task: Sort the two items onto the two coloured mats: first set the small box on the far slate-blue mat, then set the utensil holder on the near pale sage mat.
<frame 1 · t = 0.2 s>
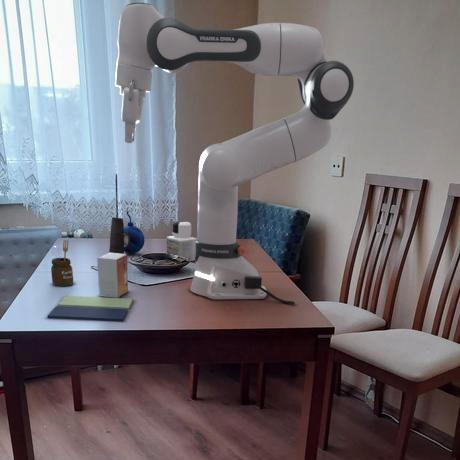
hand: (129, 142, 144), 38 cm above the table, tool pointing down, fingers open, 8 cm apart
container: (181, 260, 198), on the table
sage mat: (96, 303, 145), on the table
utensil holder: (63, 284, 161), on the table
small box: (114, 294, 154), on the table
butter churn: (117, 264, 186), on the table
bomb: (130, 254, 202), on the table
slate mat: (88, 314, 137), on the table
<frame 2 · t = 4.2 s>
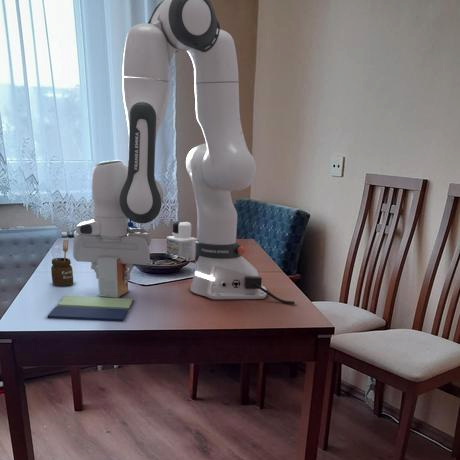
hand: (113, 279, 152), 4 cm above the table, tool pointing down, fingers closed on small box, 6 cm apart
small box: (114, 294, 154), on the table, touching gripper
everything else where it was.
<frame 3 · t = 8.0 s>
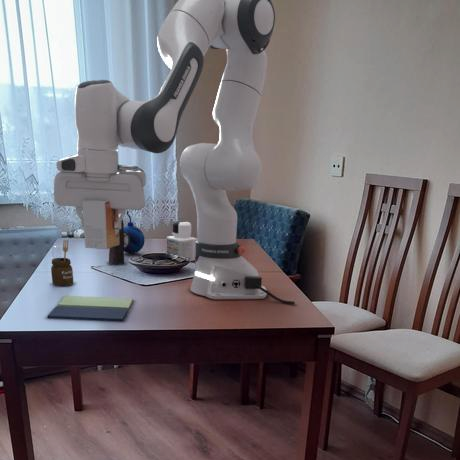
hand: (101, 228, 129), 21 cm above the table, tool pointing down, fingers closed on small box, 6 cm apart
small box: (102, 247, 132), point 16 cm above the table, touching gripper
everything else where it was.
when the fingers open (5 cm above the table, at t = 12.1 s): small box stays where it is, resting on slate mat.
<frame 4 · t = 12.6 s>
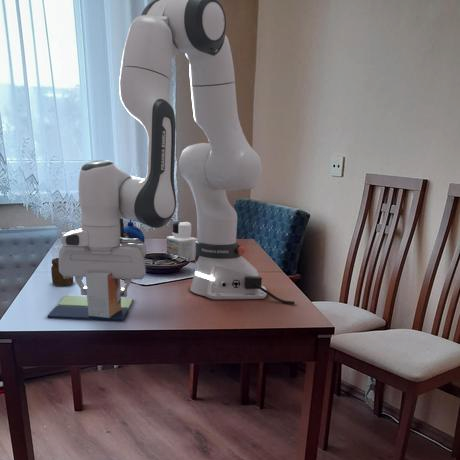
hand: (104, 295, 135), 5 cm above the table, tool pointing down, fingers open, 8 cm apart
small box: (105, 313, 137), resting on slate mat
everything else where it was.
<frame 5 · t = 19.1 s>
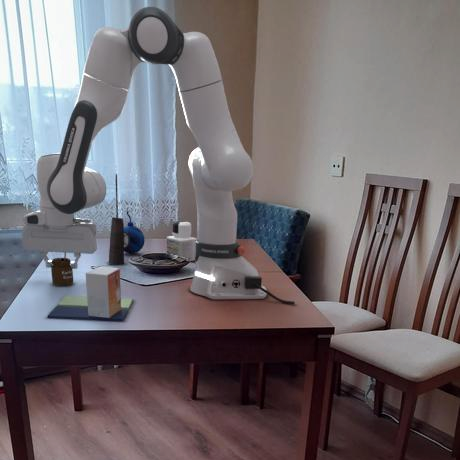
hand: (61, 267, 159), 5 cm above the table, tool pointing down, fingers closed on utensil holder, 6 cm apart
utensil holder: (63, 284, 161), on the table, touching gripper
everything else where it was.
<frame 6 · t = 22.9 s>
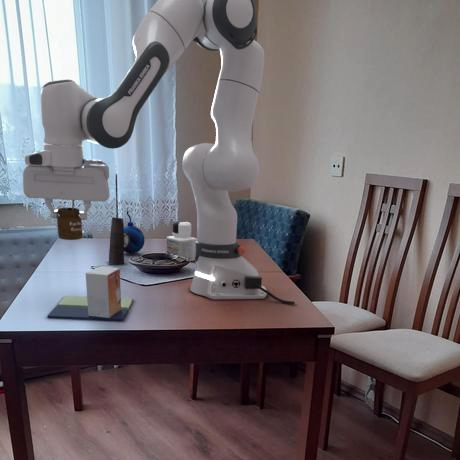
hand: (69, 218, 138), 21 cm above the table, tool pointing down, fingers closed on utensil holder, 6 cm apart
utensil holder: (71, 238, 140), point 16 cm above the table, touching gripper
everything else where it was.
when the fingers open (5 cm above the table, at t = 27.0 s): utensil holder stays where it is, resting on sage mat.
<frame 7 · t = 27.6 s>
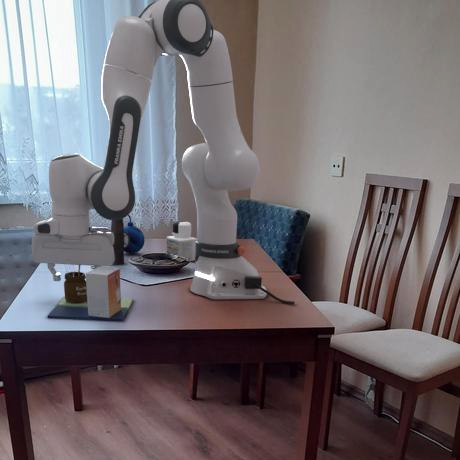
hand: (75, 281, 143), 6 cm above the table, tool pointing down, fingers open, 8 cm apart
utensil holder: (77, 301, 145), resting on sage mat
everything else where it was.
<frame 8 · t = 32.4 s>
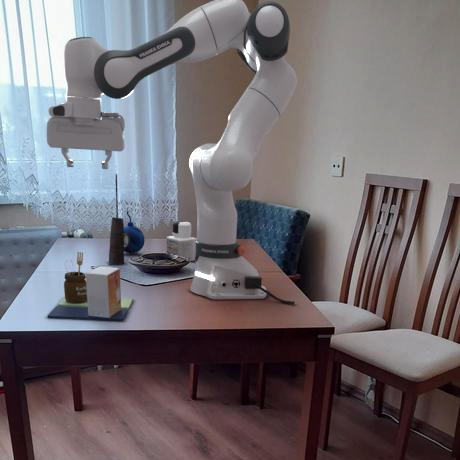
hand: (87, 168, 151), 31 cm above the table, tool pointing down, fingers open, 8 cm apart
nothing on the table moved.
at the end: small box inside the target area (2.6 cm from its centre), resting on slate mat; utensil holder inside the target area (2.9 cm from its centre), resting on sage mat; small box tilted 0° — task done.
